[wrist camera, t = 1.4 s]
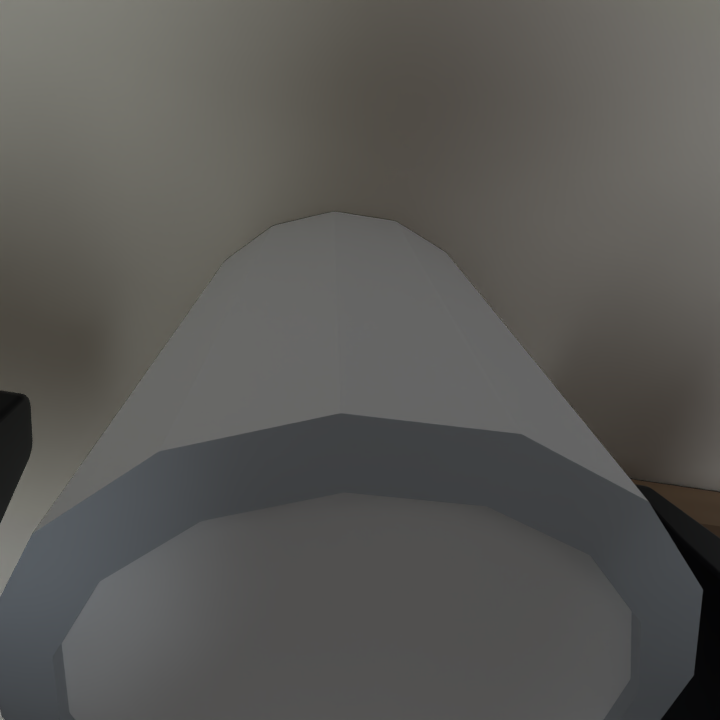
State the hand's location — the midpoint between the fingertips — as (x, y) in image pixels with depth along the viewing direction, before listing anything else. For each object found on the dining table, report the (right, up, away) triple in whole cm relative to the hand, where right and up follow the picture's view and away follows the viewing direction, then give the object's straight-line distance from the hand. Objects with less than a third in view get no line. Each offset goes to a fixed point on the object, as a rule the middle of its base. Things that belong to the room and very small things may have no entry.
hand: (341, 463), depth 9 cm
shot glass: (0, +2, +3) cm, 4 cm away
